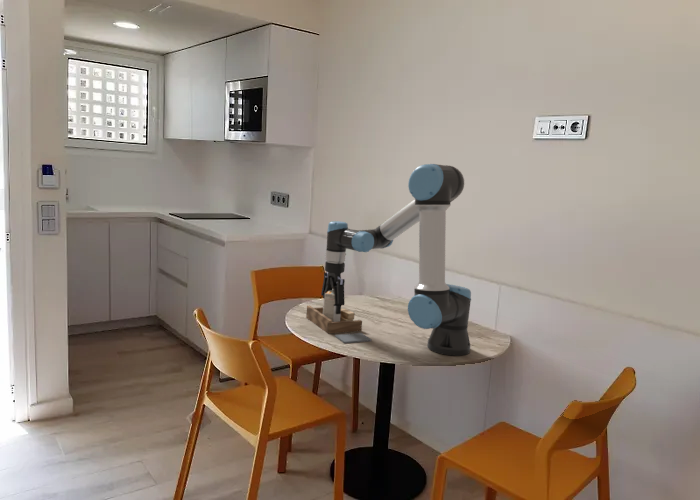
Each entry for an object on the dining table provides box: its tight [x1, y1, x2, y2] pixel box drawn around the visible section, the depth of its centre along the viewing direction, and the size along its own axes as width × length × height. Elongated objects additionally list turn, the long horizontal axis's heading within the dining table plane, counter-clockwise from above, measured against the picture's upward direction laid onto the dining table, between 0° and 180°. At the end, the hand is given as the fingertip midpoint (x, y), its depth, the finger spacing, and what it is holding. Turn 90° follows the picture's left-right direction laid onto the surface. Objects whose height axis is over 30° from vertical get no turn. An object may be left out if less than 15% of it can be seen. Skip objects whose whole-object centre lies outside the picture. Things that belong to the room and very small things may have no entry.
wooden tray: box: [305, 305, 363, 335], centre depth 222 cm, size 21×14×5 cm, turn 26°
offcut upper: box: [340, 308, 355, 320], centre depth 224 cm, size 7×3×2 cm, turn 37°
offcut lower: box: [340, 317, 354, 321], centre depth 224 cm, size 9×3×3 cm, turn 27°
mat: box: [334, 332, 373, 344], centre depth 206 cm, size 8×11×1 cm
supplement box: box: [323, 289, 335, 322], centre depth 221 cm, size 8×5×13 cm, turn 169°
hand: (331, 318), depth 222 cm, fingers closed on supplement box, 9 cm apart
